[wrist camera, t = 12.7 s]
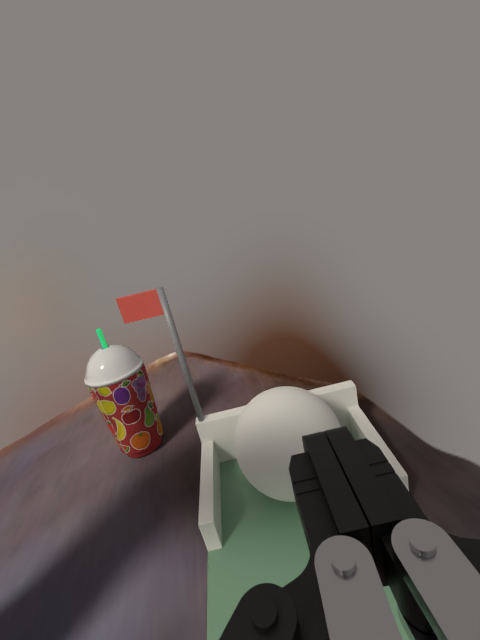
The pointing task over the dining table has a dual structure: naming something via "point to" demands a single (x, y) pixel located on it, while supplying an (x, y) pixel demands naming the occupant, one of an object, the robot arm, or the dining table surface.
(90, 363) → the smoothie
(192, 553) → the dining table surface
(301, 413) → the ball
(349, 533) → the robot arm
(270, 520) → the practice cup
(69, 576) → the dining table surface
